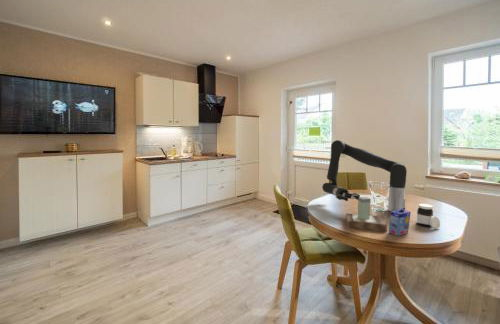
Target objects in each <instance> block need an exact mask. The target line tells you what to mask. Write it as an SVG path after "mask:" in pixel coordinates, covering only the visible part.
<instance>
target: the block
mask: <svg viewBox="0 0 500 324" xmlns="http://www.w3.org/2000/svg"><path fill="white" fill-rule="evenodd" d="M357 206H358V207H357V214H358V218H360V219H370V215H371V198H370V197H368V196H365V197H364V196H362V197H361V196H360V197H359V199H358V202H357Z"/></svg>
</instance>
